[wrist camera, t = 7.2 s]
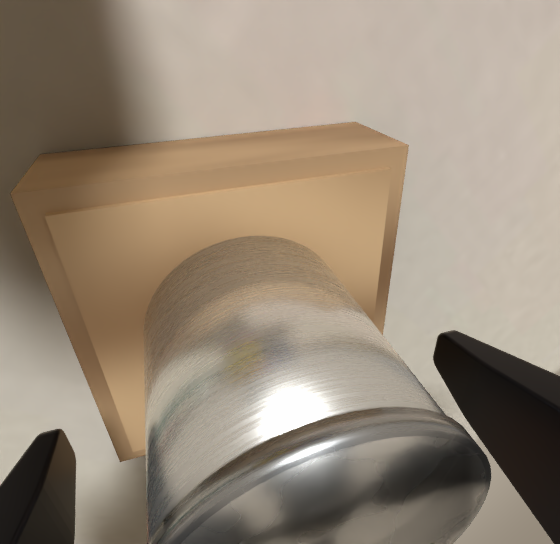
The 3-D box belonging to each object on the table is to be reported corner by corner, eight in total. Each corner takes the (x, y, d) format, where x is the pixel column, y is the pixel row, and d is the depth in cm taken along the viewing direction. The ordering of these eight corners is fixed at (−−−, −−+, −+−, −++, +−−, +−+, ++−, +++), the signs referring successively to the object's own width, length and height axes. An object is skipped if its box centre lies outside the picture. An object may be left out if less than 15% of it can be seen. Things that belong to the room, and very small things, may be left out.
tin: (338, 374, 13) (452, 572, 9) (162, 419, 12) (178, 685, 7) (348, 215, 10) (536, 385, 6) (114, 253, 9) (85, 521, 4)
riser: (341, 339, 17) (376, 394, 15) (122, 392, 15) (120, 466, 13) (355, 121, 12) (412, 146, 10) (39, 154, 10) (7, 196, 8)
